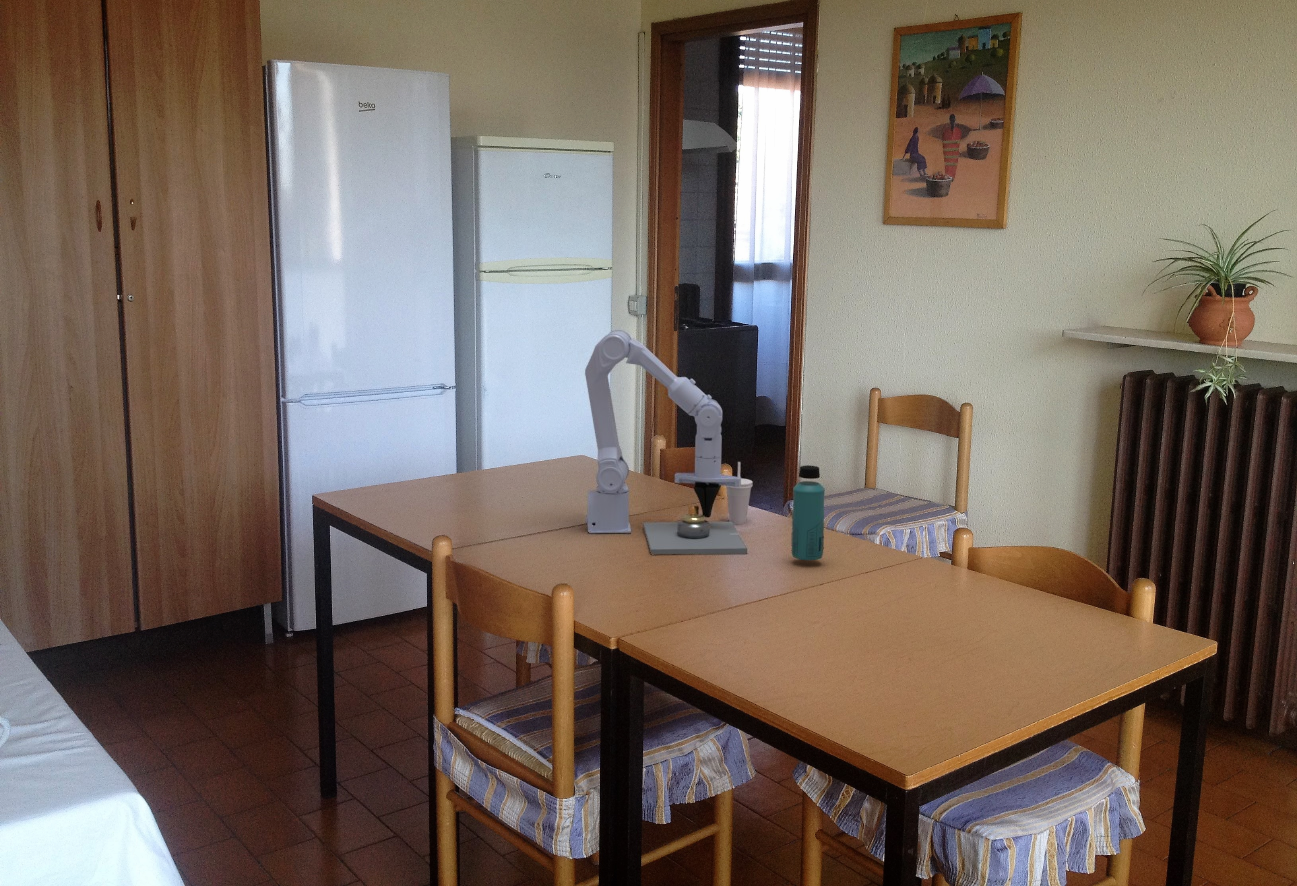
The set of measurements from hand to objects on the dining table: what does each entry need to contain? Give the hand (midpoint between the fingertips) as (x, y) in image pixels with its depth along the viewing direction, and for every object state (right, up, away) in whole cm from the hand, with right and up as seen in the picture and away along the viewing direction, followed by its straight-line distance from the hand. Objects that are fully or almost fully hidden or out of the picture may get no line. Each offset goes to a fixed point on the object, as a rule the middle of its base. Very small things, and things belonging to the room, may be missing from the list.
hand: (706, 516), depth 257 cm
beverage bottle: (+19, -8, -22) cm, 30 cm away
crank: (-3, -3, -4) cm, 6 cm away
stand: (-3, -5, -6) cm, 8 cm away
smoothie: (+8, -2, +10) cm, 12 cm away
